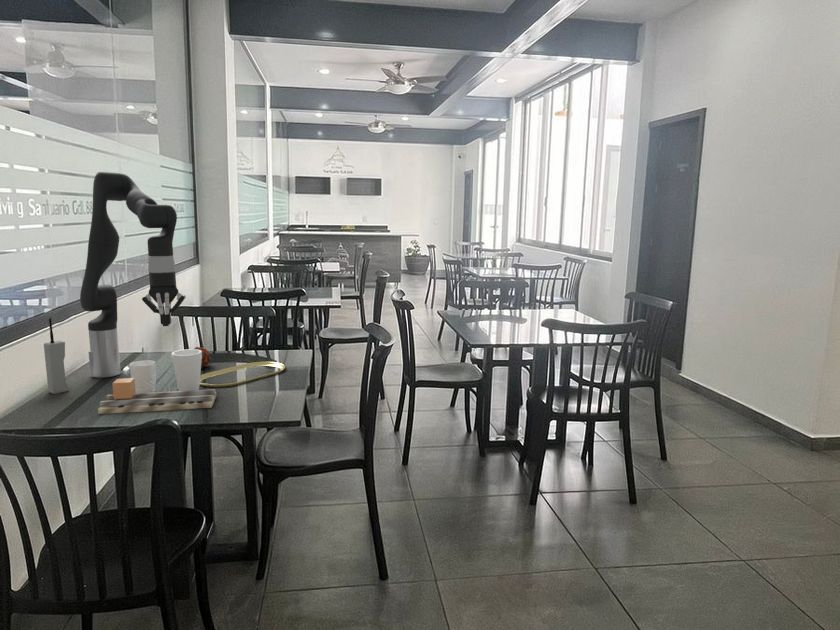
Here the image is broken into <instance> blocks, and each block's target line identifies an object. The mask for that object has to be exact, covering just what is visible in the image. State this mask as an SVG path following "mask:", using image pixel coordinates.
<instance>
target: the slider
mask: <svg viewBox="0 0 840 630" xmlns="http://www.w3.org/2000/svg"><path fill="white" fill-rule="evenodd" d="M112 393H113V394H112V395H113V396H114V399H115V400H129V399H136V395H135V394H136V390H135V378H131V377H127V378H126V377H125V378H116V379H115V380H114V381H113V382H112Z"/></svg>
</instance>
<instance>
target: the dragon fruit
mask: <svg viewBox="0 0 840 630" xmlns="http://www.w3.org/2000/svg"><path fill="white" fill-rule="evenodd" d="M194 349H197V350H201V351H202V360H201V369H203V368H204V367H205V366H208V364H209V362H210V361H212V360H211V355H210V352H209V351H208V350H207V349H206V348H204V347H201V346H200V347H199V346H195V347H194Z"/></svg>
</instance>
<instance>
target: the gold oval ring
mask: <svg viewBox="0 0 840 630" xmlns="http://www.w3.org/2000/svg"><path fill="white" fill-rule="evenodd" d="M258 366H263V367H264V366H265V367H266V366H267V367H268V366H269V367H276V368H279V370H277V371H274V372H270V373H266V374H263V375H262V374H261V375H259V376H255V377H252V378H247V379H244V380H240V381H236V382H230V383H221V384H219V383H218V384H215V383H212V384H211V383H202V381H203V380H205V379H208V378H212V377H214V376H219V375H223V374H227V373H231V372H236V371H239V370H242V369H246V368H251V367H258ZM285 368H286V367H285V364H283V363H280V362H276V361H254V362H248V363H242V364H239V365H234V366H231V367H227V368H223V369H218V370H215V371H211V372H206V373H203V374H200V385H199V386H203V387H208V388H209V387H210V388H225V387H232V386H237V385H241V384H245V383H249V382H252V381H256V380H260V379H263V378H267V377H270V376H273V375H278V374H280V373H281V372H283V371H284V370H285Z"/></svg>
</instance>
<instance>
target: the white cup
mask: <svg viewBox="0 0 840 630" xmlns="http://www.w3.org/2000/svg"><path fill="white" fill-rule="evenodd" d="M156 363H157V362H156V361H155V360H150V359H148V360H144V359H143V360H136V361H132V362H130V363H129V366H128V367H129V372H130V373H129V374H130V378H135V390H136V393H152V392H157V391H156V389H157V388H156V383H157V376H156V375H157V372H156V371H157V370H156V367H157V366H156Z"/></svg>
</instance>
